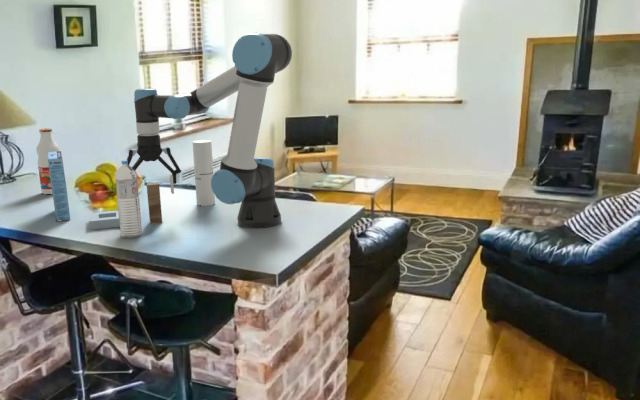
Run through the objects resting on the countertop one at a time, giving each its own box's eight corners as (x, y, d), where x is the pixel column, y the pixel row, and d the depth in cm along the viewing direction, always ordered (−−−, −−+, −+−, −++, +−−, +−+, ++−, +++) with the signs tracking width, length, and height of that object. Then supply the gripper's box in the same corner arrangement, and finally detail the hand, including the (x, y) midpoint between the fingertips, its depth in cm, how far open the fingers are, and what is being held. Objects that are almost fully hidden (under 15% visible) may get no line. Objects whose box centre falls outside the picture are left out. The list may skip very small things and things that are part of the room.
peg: (162, 222, 213) (159, 184, 210) (150, 224, 212) (147, 185, 208) (161, 220, 217) (158, 182, 213) (149, 221, 215) (146, 183, 212)
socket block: (126, 225, 210) (125, 217, 209) (90, 229, 206) (89, 221, 205) (125, 217, 221) (124, 209, 220) (90, 221, 217) (89, 213, 216)
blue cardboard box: (70, 220, 219) (63, 158, 214) (55, 222, 217) (47, 159, 212) (69, 208, 236) (62, 150, 231) (55, 210, 234) (47, 151, 229)
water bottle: (130, 239, 194) (123, 163, 188) (116, 236, 197) (108, 161, 192) (146, 234, 200) (140, 159, 194) (132, 231, 203) (125, 158, 197)
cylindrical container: (213, 206, 236) (209, 142, 230) (195, 206, 236) (190, 142, 230) (216, 201, 243) (212, 139, 237) (199, 201, 243) (194, 140, 237)
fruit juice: (69, 191, 266) (61, 128, 259) (48, 195, 259) (40, 130, 252) (58, 189, 272) (50, 127, 265) (37, 193, 264) (29, 129, 258)
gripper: (183, 131, 214) (187, 189, 220) (109, 134, 206) (115, 194, 211) (186, 133, 208) (190, 193, 213) (110, 137, 199) (115, 199, 204)
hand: (152, 194), depth 212 cm, fingers open, 13 cm apart
